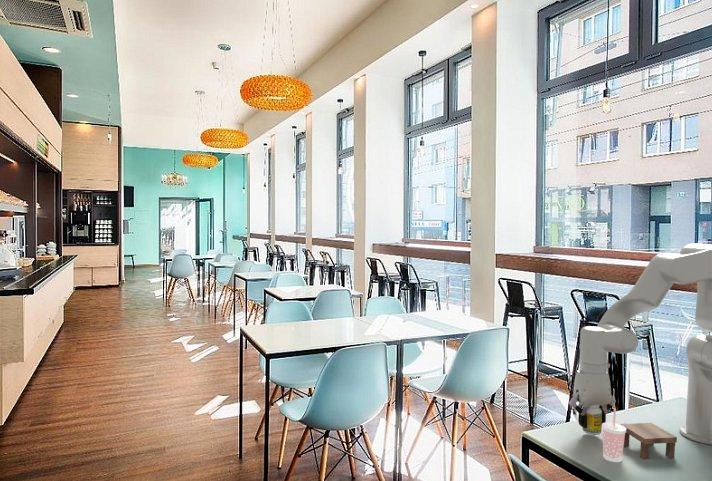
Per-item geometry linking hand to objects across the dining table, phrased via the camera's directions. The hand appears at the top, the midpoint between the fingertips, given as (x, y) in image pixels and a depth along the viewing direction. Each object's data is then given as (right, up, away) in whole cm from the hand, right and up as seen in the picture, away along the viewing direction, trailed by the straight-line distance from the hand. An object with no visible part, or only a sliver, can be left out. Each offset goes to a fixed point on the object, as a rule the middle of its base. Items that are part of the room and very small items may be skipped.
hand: (591, 425), depth 156 cm
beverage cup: (-1, -4, -14) cm, 15 cm away
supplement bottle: (0, -2, 0) cm, 2 cm away
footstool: (+12, -4, -9) cm, 15 cm away
